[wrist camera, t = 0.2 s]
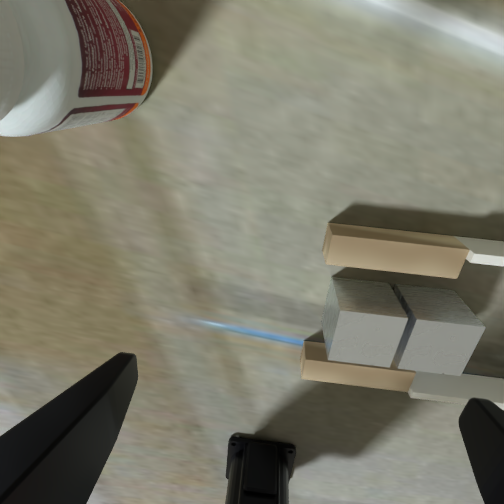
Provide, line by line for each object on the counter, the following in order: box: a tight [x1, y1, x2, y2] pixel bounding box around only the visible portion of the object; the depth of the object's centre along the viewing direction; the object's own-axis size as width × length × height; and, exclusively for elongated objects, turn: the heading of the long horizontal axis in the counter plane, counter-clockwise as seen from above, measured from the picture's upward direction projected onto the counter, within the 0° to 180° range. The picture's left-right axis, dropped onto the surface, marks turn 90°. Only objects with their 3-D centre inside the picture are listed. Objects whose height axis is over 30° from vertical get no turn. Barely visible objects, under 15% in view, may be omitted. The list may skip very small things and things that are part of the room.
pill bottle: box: [0, 0, 153, 136], centre depth 13 cm, size 6×6×11 cm
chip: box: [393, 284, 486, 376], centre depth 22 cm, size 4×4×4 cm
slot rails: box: [300, 223, 469, 392], centre depth 23 cm, size 12×8×2 cm, turn 175°
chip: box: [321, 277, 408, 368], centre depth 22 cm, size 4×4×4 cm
